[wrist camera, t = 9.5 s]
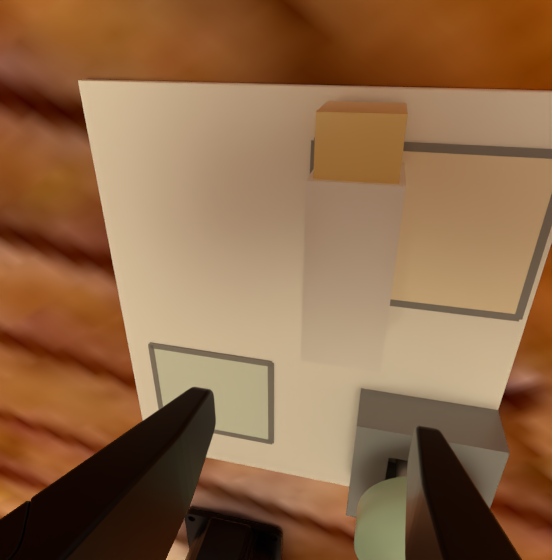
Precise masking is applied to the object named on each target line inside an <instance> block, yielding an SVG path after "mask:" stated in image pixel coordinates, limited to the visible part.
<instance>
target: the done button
mask: <svg viewBox="0 0 552 560" xmlns="http://www.w3.org/2000/svg"><path fill="white" fill-rule="evenodd" d="M407 466H408V461H406V460H400V459H396V478H392V479H387V480H384V481H381V482H379V483H377V484H375V485H373V486H372V487H370V488H369V489H368V490H367V491H365V492H364V494H363V495H362V496H361V498H360V500H359V502H358V506H357V516H356V527H355V539H354V548H355V553H356V555H357V558H358V559H359V560H405V525H406V494H407Z"/></svg>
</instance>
